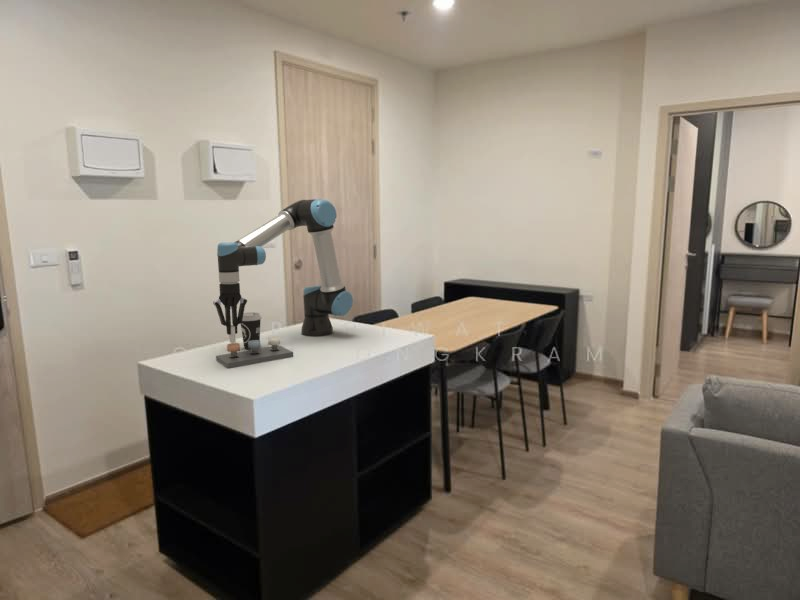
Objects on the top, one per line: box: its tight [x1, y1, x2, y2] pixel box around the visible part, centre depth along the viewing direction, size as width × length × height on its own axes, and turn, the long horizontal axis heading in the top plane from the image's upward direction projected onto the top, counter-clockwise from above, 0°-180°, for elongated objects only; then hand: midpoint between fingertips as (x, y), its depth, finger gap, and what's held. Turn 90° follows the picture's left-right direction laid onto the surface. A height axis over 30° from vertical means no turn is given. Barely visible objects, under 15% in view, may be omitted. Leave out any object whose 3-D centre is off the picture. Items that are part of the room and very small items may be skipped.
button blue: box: [248, 339, 262, 352], centre depth 219 cm, size 5×5×4 cm
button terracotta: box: [226, 342, 241, 356], centre depth 214 cm, size 5×5×4 cm
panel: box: [215, 344, 294, 369], centre depth 220 cm, size 27×14×2 cm, turn 126°
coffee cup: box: [240, 311, 262, 351], centre depth 236 cm, size 10×10×15 cm
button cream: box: [267, 336, 281, 349], centre depth 224 cm, size 5×5×4 cm
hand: (232, 342), depth 214 cm, fingers closed
